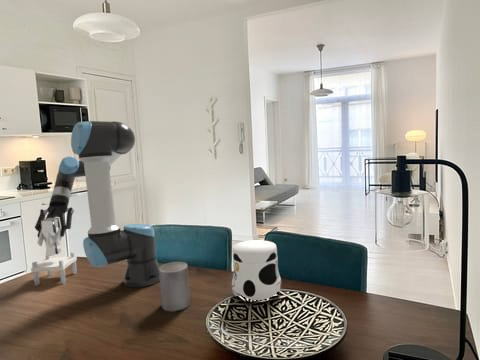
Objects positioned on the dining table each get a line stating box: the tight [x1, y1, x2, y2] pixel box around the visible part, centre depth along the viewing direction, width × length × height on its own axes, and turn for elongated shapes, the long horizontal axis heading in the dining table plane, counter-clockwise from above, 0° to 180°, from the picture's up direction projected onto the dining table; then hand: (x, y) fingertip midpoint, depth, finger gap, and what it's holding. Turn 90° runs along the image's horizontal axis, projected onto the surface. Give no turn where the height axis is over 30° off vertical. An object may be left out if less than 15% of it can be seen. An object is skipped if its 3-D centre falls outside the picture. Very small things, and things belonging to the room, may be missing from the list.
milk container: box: [231, 239, 282, 300], centre depth 123 cm, size 17×17×18 cm
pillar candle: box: [159, 261, 191, 313], centre depth 119 cm, size 10×10×15 cm
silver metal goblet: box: [41, 217, 62, 257], centre depth 150 cm, size 7×7×15 cm
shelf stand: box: [30, 251, 78, 286], centre depth 151 cm, size 13×13×10 cm
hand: (48, 243), depth 146 cm, fingers closed on silver metal goblet, 6 cm apart
